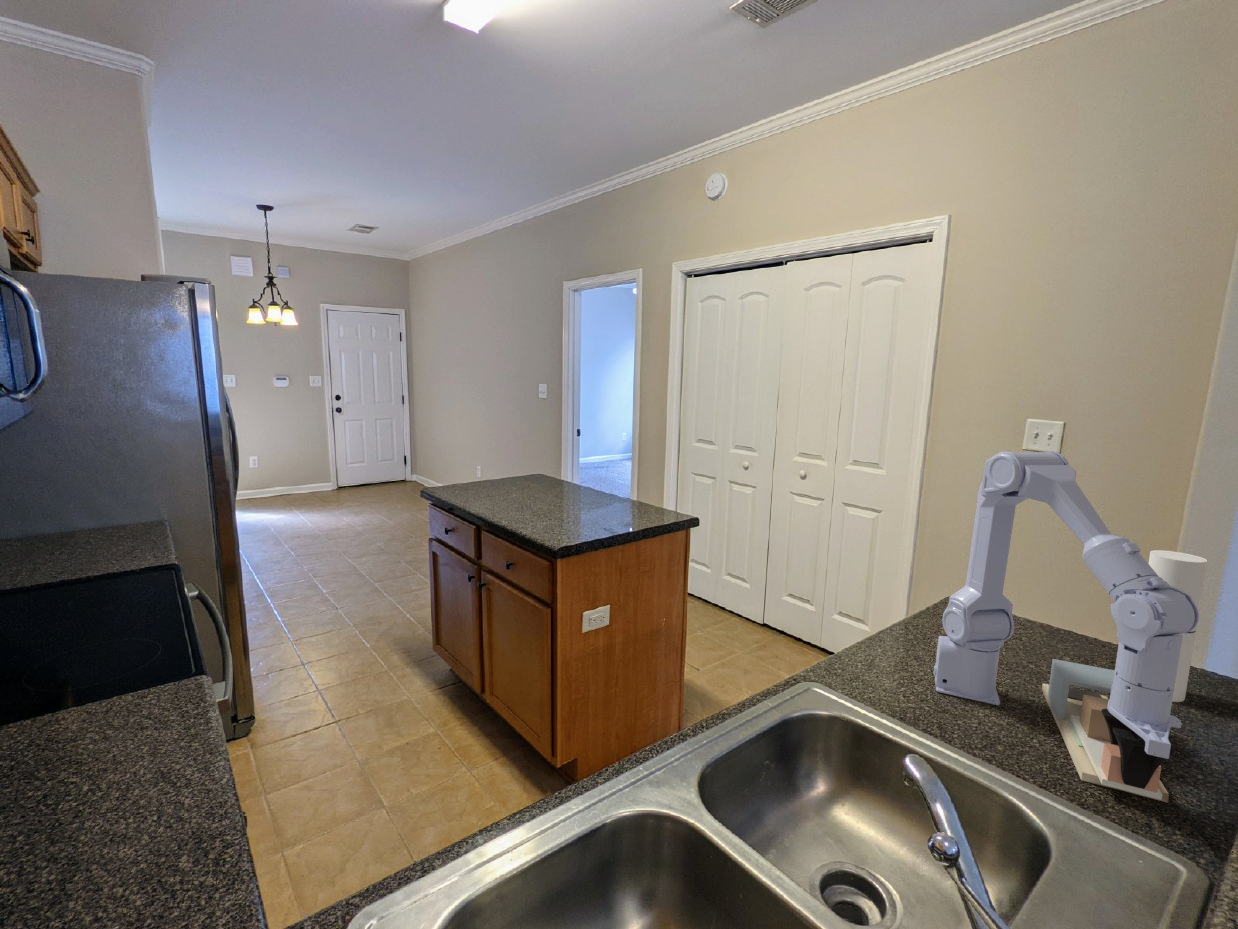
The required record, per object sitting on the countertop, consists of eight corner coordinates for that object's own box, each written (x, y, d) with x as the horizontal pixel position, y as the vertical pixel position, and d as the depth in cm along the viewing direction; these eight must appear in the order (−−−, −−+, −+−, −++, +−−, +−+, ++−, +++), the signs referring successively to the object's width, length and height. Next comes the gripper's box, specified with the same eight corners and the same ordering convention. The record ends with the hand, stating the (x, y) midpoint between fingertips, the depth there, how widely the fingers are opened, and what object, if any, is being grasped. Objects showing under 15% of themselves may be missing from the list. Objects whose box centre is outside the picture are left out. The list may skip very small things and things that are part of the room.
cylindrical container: (1196, 702, 99) (1220, 562, 96) (1155, 701, 99) (1176, 561, 96) (1158, 681, 106) (1179, 550, 103) (1119, 680, 106) (1139, 549, 103)
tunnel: (1057, 725, 92) (1063, 679, 91) (1047, 701, 99) (1052, 658, 98) (1130, 742, 88) (1137, 694, 87) (1113, 715, 95) (1120, 671, 94)
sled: (1101, 784, 76) (1107, 747, 75) (1070, 719, 91) (1074, 687, 90) (1161, 800, 73) (1167, 761, 72) (1118, 730, 88) (1123, 697, 87)
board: (1081, 780, 79) (1082, 771, 79) (1041, 689, 103) (1042, 682, 102) (1167, 802, 75) (1169, 792, 75) (1105, 702, 99) (1106, 695, 98)
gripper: (1211, 716, 66) (1193, 824, 67) (1162, 663, 78) (1148, 754, 80) (1132, 700, 69) (1116, 804, 70) (1097, 651, 81) (1084, 740, 83)
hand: (1128, 776), depth 76 cm, fingers closed on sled, 3 cm apart
